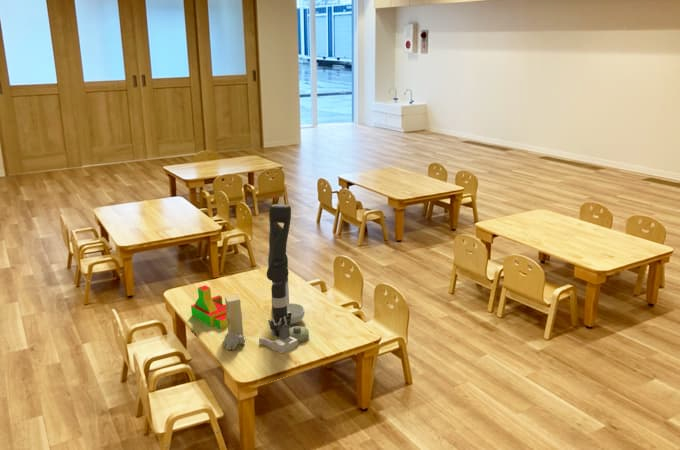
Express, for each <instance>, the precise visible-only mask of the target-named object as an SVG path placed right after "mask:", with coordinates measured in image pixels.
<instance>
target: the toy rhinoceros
mask: <svg viewBox="0 0 680 450" xmlns="http://www.w3.org/2000/svg"><path fill="white" fill-rule="evenodd" d="M246 341H247V339H246V337H245V336H244V335H243V336H242V335H241V334H240V335H238V334H237V333H236V332H227V333H226V335H225V336H224V341H223V342H222V347H225V348H226V349H227V350H233V351H235V350H236V348H237V345H238V344H240V345H245V343H246Z"/></svg>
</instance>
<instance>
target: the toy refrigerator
mask: <svg viewBox="0 0 680 450" xmlns="http://www.w3.org/2000/svg"><path fill="white" fill-rule="evenodd" d="M224 300H225V304H226V313H227V324H228V326H227V333H229V332H236V333H237V334H238V335H240V334H241V335H242V336H244V329H243V315H242V316H241V312H242V306H241V299H240V297H239V295H238V294H229V295H225V296H224Z"/></svg>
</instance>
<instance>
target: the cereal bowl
mask: <svg viewBox="0 0 680 450" xmlns="http://www.w3.org/2000/svg"><path fill="white" fill-rule="evenodd" d="M287 312H290V313H292V315H291V320H290V324H288V325H287V326H289V325H290V326H291V325H294V324H297V323H299V322H301V321H302V320H303V319H304V318H305V308H304V306H303V305H301V304H298V303H291V302H289V304H287Z"/></svg>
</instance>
